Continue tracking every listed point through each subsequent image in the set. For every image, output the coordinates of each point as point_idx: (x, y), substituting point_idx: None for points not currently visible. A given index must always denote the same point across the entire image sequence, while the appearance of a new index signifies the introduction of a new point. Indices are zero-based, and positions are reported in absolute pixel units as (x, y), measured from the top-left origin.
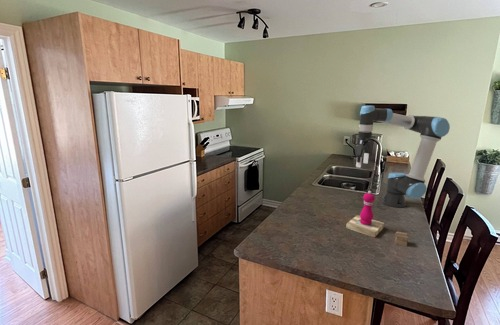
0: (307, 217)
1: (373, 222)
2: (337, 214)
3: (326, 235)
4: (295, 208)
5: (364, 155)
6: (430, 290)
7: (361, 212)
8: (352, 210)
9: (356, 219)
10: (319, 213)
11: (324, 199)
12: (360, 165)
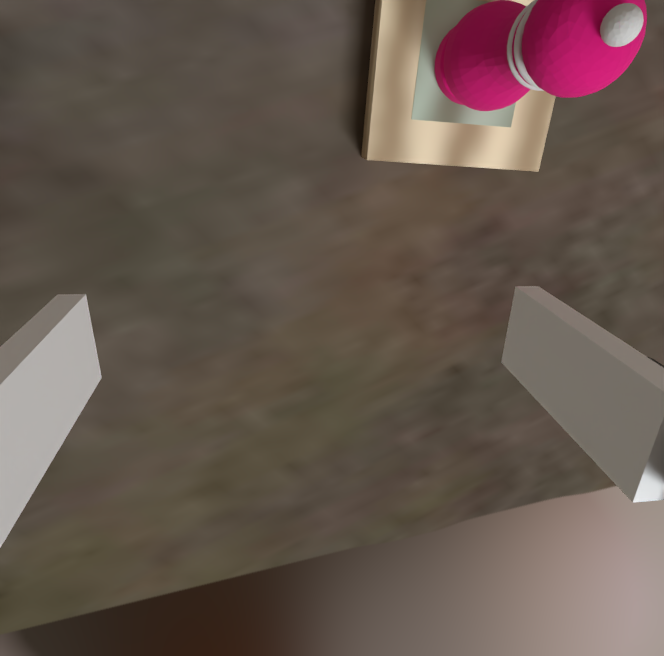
0: (504, 382)
1: (427, 15)
2: (362, 282)
3: (660, 219)
4: (430, 475)
5: (29, 483)
6: None
7: (521, 96)
8: (228, 232)
9: (445, 138)
10: (416, 362)
11: (182, 437)
12: (563, 305)
